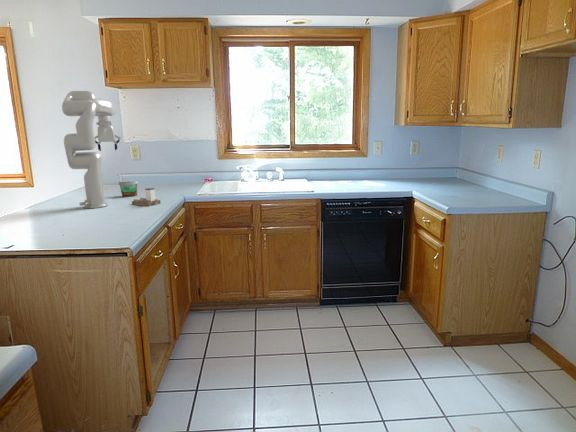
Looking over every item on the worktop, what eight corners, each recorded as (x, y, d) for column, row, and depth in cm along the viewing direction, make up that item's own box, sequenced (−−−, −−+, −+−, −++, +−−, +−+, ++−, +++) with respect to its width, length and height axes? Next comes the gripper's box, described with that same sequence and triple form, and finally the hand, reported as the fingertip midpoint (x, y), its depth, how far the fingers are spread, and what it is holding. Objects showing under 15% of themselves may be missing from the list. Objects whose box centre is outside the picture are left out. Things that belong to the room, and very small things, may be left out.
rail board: (149, 206, 243) (149, 201, 243) (132, 204, 249) (131, 199, 249) (160, 203, 251) (160, 198, 250) (143, 201, 257) (143, 197, 257)
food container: (118, 197, 272) (117, 182, 270) (119, 196, 278) (118, 181, 276) (138, 196, 275) (137, 181, 273) (139, 195, 281) (137, 180, 279)
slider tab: (151, 201, 245) (150, 189, 244) (146, 200, 247) (145, 188, 246) (155, 200, 249) (154, 188, 247) (150, 199, 250) (149, 187, 249)
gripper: (90, 124, 269) (93, 151, 272) (118, 124, 274) (121, 150, 277) (91, 124, 275) (94, 150, 279) (119, 124, 281) (122, 149, 284)
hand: (108, 150), depth 278 cm, fingers open, 9 cm apart
